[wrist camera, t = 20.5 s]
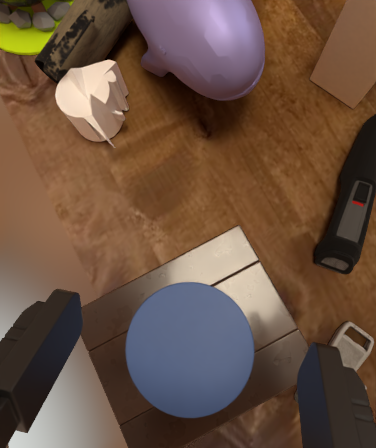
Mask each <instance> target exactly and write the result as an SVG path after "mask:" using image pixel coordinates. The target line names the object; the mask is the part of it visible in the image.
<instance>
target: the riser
mask: <svg viewBox="0 0 376 448" xmlns="http://www.w3.org/2000/svg"><path fill="white" fill-rule="evenodd" d="M310 80H311V81H312V82H314V83H315V84H317V85H318V86H320V87H321V88H323V89H324V90H326V91H327V92H329V93H330V94H331V95H333V96H334V97H336V98H337V99H339V100H340V101H342V102H343V103H345V104H346V105H348V106H349V107H350V108H352V109H354V108H355V107H356V106H357V105H358V104H359V102H360V101H361V100H362V99H363V98H364V97H365V95H366V94H367V93H368V92H369V91H370V89H371V88H372V87H373V86H374V85H375V83H376V0H347V1H346V3H345V5H344V7H343V9H342V11H341V13H340V16H339V18H338V20H337V22H336V24H335V26H334V28H333V30H332V32H331V34H330V37H329V39H328V41H327V43H326V45H325V47H324V49H323V51H322V53H321V55H320V58H319V60H318V62H317V64H316V66H315V68H314V70H313V72H312V74H311V76H310Z"/></svg>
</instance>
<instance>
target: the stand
mask: <svg viewBox="0 0 376 448" xmlns="http://www.w3.org/2000/svg"><path fill="white" fill-rule="evenodd" d="M182 282H197V283H203V284H206V285H210V286H212V287H215V288H217V289H219V290H220V291H222V292H224V293H225V294H226V295H228V296H229V297H230V298H231V299H232V300H234V301H235V302H236V303H237V305H238V306H239V307H240V309H241V310H242V311H243V313H244V315H245V316H246V318H247V320H248V322H249V325H250V328H251V331H252V334H253V340H254V362H253V367H252V371H251V374H250V377H249V379H248V381H247V383H246V385H245V387H244V388H243V390H242V391H241V393H240V394H239V395H238V396H237V398H236V399H235V400H234V401H233V402H231V403H230V404H229V405H228V406H227V407H225V408H223V409H222V410H220V411H218V412H216V413H214V414H211V415H208V416H204V417H199V418H182V417H176V416H173V415H170V414H167V413H165V412H163V411H161V410H159V409H158V408H156V407H155V406H153V405H152V404H151V403H149V402H148V401H147V400H146V399H145V398H144V397H143V396H142V394H141V393H140V392H139V390H138V389H137V388H136V386H135V384H134V382H133V380H132V378H131V376H130V373H129V370H128V366H127V362H126V353H125V348H126V337H127V332H128V329H129V325H130V323H131V321H132V318H133V316H134V315H135V313H136V311H137V310H138V308H139V307H140V306H141V304H142V303H143V302H144V301H145V300H146V299H147V298H148V297H150V296H151V295H152V294H153V293H155V292H156V291H158V290H160V289H162V288H164V287H166V286H169V285H172V284H176V283H182ZM81 310H82V317H83V327H82V331H81V337H82V339H83V341H84V344H85V346H86V349H87V350H88V351H89V356H90V358H91V360H92V363H93V365H94V367H95V370H96V372H97V374H98V376H99V379H100V381H101V384H102V386H103V389H104V391H105V393H106V396H107V397H108V400H109V403H110V405H111V407H112V410H113V412H114V414H115V417H116V419H117V421H118V424H119V425H120V429H121V431H122V434H123V436H124V438H125V441H126V443H127V446H128V448H182V447H184V446H185V445H187V444H189V443H191V442H193V441H195V440H196V439H198V438H200V437H202V436H204V435H205V434H207V433H209V432H211V431H213V430H214V429H216V428H218V427H220V426H222V425H224V424H225V423H227V422H229V421H231V420H233V419H234V418H236V417H238V416H240V415H242V414H244V413H245V412H247V411H249V410H251V409H253V408H254V407H256V406H258V405H260V404H262V403H264V402H265V401H267V400H269V399H271V398H273V397H274V396H276V395H278V394H280V393H282V392H284V391H285V390H287V389H289V388H291V387H293V386H294V385H296V384H297V377H298V371H299V368H300V366H301V364H302V362H303V360H304V358H305V356H306V353H307V351H308V349H309V346H308V344H307V342H306V341H305V339H304V337H303V335H302V333H301V332H300V330H299V329H298V327H297V325H296V323H295V321H294V320H293V318H292V316H291V314H290V313H289V311H288V309H287V307H286V305H285V304H284V302H283V300H282V298H281V297H280V295H279V293H278V291H277V290H276V288H275V286H274V284H273V283H272V281H271V279H270V277H269V276H268V274H267V272H266V270H265V269H264V267H263V265H262V263H261V262H260V261H259V258H258V256H257V254H256V253H255V251H254V249H253V247H252V246H251V244H250V242H249V240H248V239H247V237H246V235H245V233H244V231H243V230H242V228H241V226H240V225H237V226H235V227H233V228H231V229H229V230H227V231H225V232H224V233H222V234H220V235H218V236H216V237H214V238H212V239H210V240H208V241H206V242H205V243H203V244H201V245H199V246H197V247H195V248H193V249H191V250H189V251H187V252H186V253H184V254H182V255H180V256H178V257H176V258H174V259H172V260H170V261H168V262H167V263H165V264H163V265H161V266H159V267H157V268H155V269H153V270H151V271H149V272H148V273H146V274H144V275H142V276H140V277H138V278H136V279H134V280H132V281H130V282H129V283H127V284H125V285H123V286H121V287H119V288H117V289H115V290H113V291H111V292H110V293H108V294H106V295H104V296H102V297H100V298H98V299H96V300H94V301H92V302H91V303H89V304H87V305H85V306H83V307H81Z"/></svg>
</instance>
